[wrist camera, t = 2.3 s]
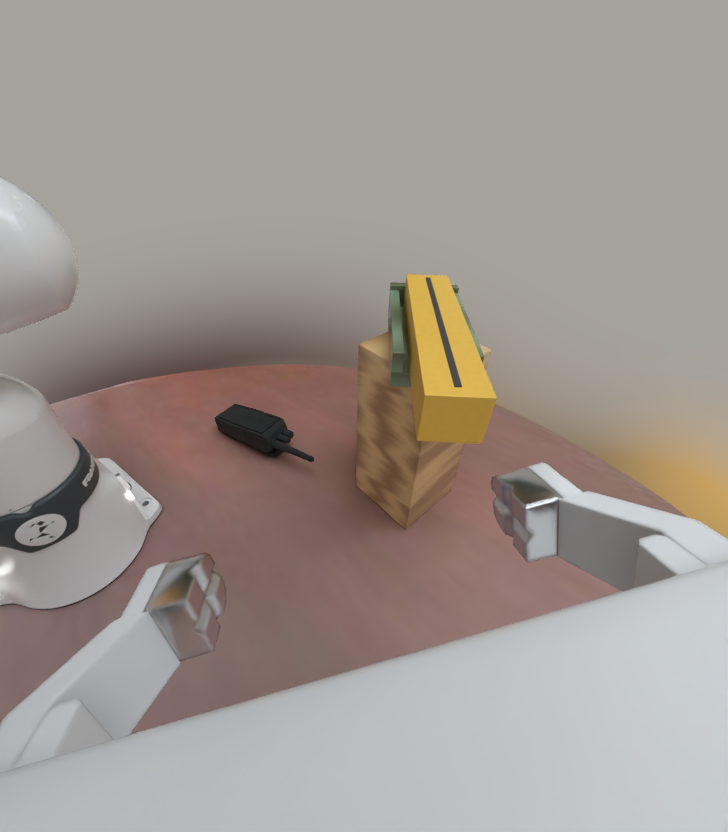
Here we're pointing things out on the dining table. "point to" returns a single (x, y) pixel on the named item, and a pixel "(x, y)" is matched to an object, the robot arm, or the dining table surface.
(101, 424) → the dining table surface
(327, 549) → the dining table surface
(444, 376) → the pencil case
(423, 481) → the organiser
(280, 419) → the walkie-talkie
